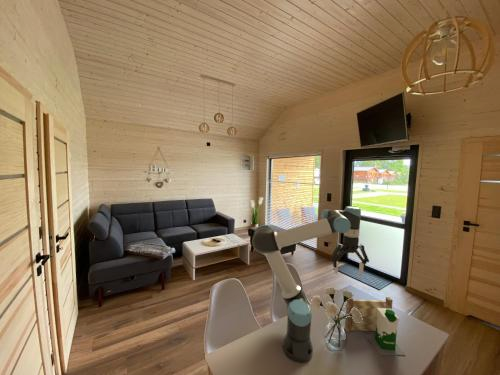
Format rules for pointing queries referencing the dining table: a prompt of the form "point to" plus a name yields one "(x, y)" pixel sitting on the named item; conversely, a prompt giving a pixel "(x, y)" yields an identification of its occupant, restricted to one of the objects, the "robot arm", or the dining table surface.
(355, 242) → the robot arm
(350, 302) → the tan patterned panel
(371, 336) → the keeper pad
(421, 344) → the dining table surface
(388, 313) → the soya milk
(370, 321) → the door
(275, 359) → the dining table surface
